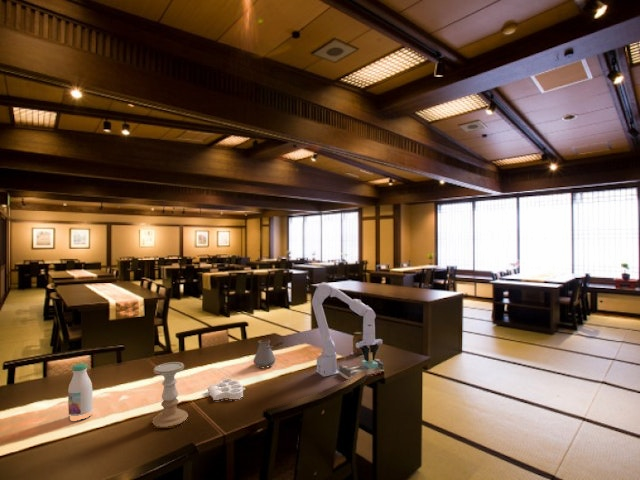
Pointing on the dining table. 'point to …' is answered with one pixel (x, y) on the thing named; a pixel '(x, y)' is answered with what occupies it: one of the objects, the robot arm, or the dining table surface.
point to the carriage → (370, 362)
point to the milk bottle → (80, 391)
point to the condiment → (356, 339)
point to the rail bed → (360, 369)
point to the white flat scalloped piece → (226, 389)
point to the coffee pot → (265, 354)
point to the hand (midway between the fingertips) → (369, 360)
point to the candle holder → (169, 396)
